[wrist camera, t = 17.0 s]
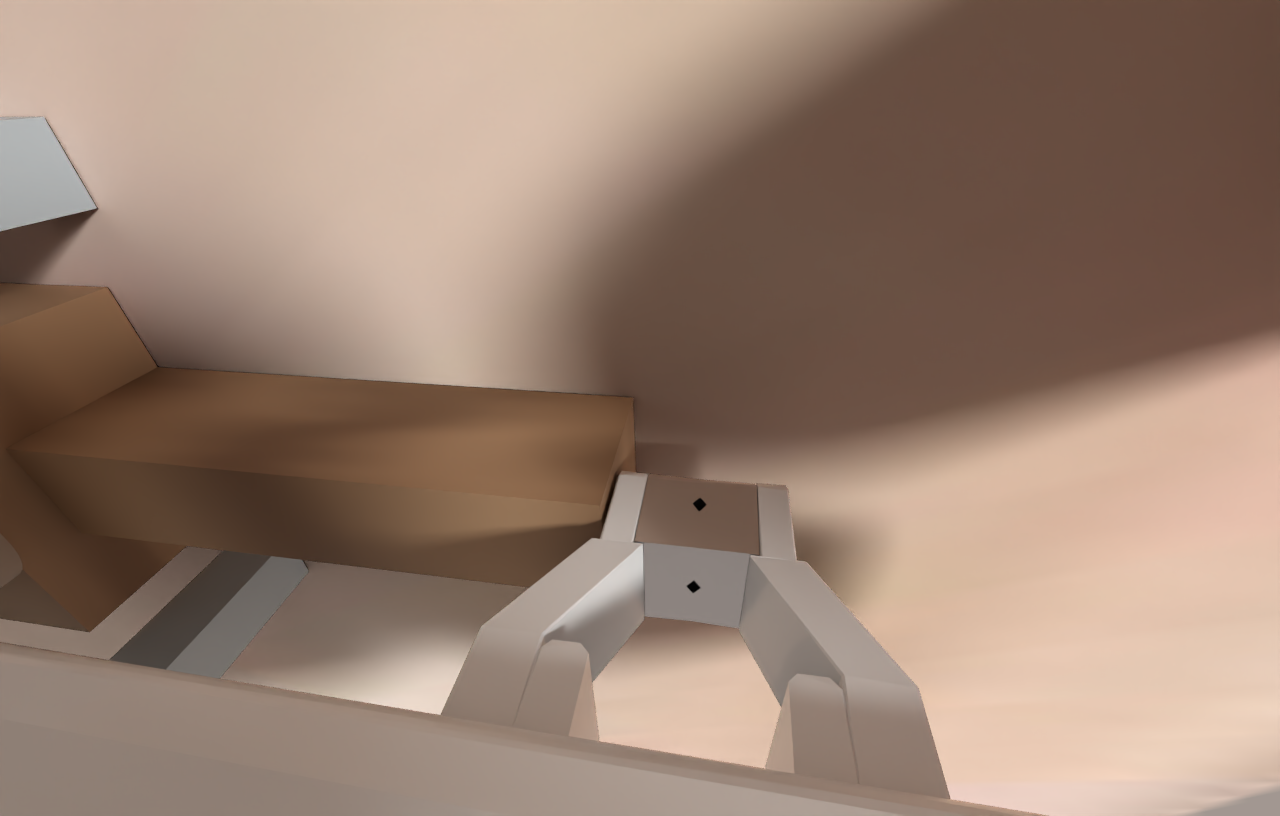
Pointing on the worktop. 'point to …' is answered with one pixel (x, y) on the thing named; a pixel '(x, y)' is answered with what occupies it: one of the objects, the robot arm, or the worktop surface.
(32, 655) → the robot arm
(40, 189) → the small grey table
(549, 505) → the wooden mallet
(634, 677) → the worktop surface
